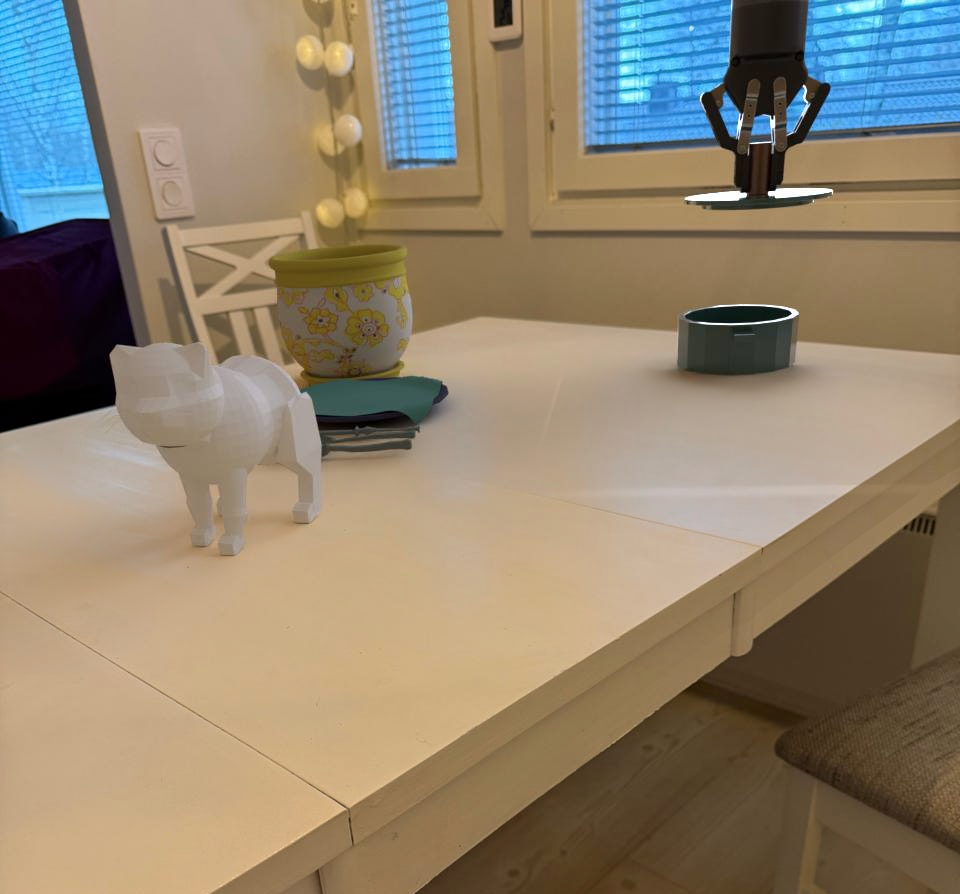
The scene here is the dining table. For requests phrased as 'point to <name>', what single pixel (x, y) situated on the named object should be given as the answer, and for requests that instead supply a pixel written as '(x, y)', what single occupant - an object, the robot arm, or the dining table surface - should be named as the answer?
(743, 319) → the tin
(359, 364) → the flowerpot
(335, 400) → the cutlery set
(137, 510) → the dining table surface
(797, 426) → the dining table surface
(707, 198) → the cover
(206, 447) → the cat figurine
